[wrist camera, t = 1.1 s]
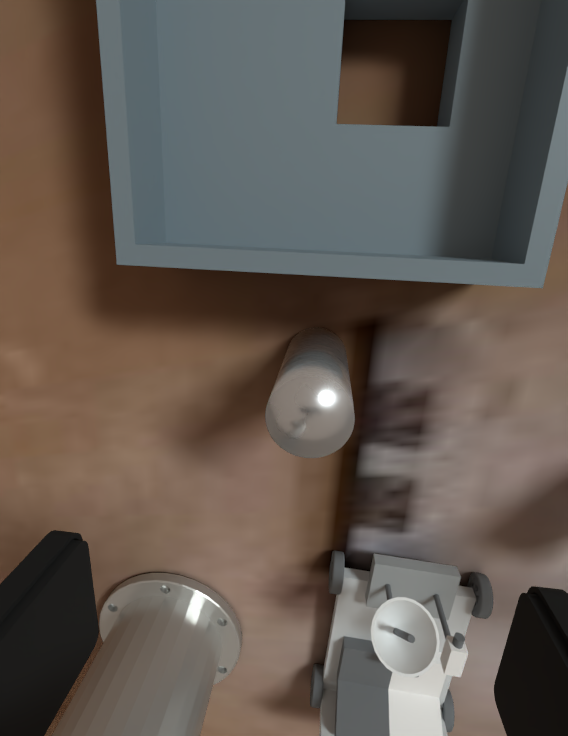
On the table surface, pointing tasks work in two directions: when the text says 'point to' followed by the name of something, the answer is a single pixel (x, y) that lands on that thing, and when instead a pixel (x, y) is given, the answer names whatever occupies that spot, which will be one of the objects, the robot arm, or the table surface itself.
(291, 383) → the peg
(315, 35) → the open box
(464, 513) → the table surface
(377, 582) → the toy car
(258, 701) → the table surface
